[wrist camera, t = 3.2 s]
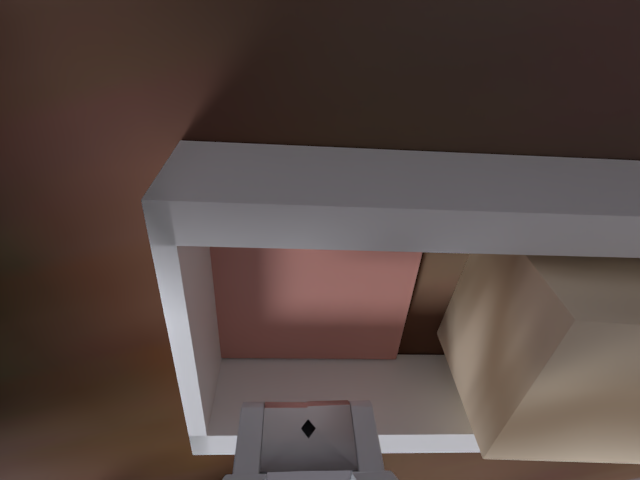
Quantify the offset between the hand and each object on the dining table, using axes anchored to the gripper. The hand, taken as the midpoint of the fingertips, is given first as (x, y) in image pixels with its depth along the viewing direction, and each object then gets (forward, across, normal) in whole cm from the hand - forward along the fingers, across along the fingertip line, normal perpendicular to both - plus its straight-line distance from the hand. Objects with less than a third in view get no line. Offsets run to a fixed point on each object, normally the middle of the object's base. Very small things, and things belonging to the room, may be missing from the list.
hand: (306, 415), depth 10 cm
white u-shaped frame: (+4, -5, -1) cm, 6 cm away
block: (+4, -8, -1) cm, 9 cm away
